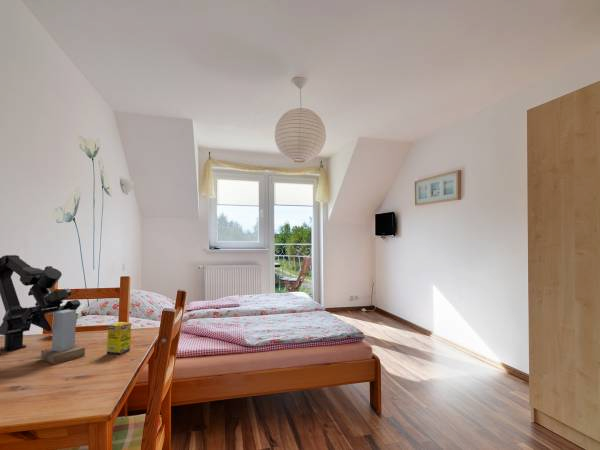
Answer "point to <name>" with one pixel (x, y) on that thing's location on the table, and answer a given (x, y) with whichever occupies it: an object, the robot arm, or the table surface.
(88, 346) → the table surface
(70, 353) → the walnut block
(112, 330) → the supplement box
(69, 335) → the slate block
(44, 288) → the robot arm
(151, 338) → the table surface
